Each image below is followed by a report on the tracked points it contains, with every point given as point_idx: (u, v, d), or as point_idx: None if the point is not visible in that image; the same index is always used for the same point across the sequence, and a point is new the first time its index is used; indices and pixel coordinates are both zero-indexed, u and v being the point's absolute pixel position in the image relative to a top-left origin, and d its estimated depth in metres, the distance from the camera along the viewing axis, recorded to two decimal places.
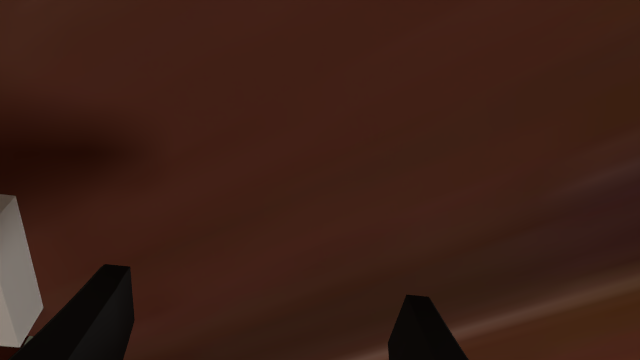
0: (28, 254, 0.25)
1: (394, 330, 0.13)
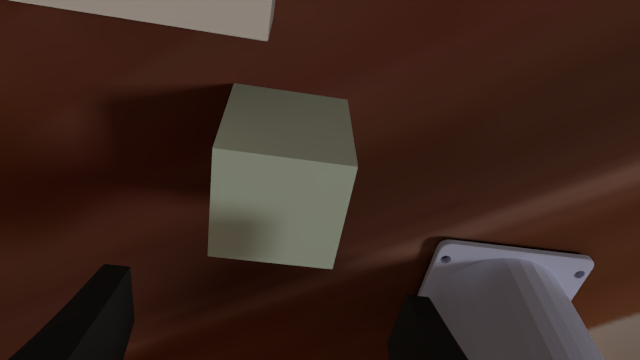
0: None
1: (394, 330, 0.13)
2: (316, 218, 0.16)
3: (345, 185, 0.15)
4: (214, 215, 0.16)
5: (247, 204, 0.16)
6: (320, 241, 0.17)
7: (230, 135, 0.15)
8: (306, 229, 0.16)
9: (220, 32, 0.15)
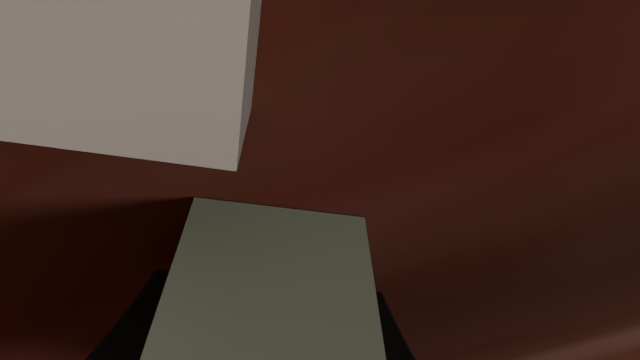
0: None
1: None
2: None
3: None
4: None
5: None
6: None
7: (174, 329, 0.09)
8: None
9: (157, 156, 0.09)
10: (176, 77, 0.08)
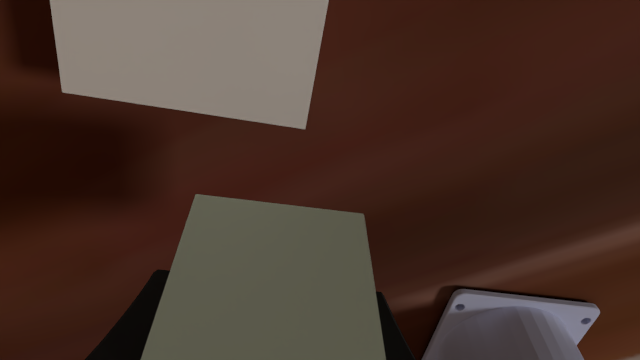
0: None
1: None
2: None
3: None
4: None
5: None
6: None
7: (177, 322, 0.09)
8: None
9: (262, 120, 0.16)
10: (280, 78, 0.15)
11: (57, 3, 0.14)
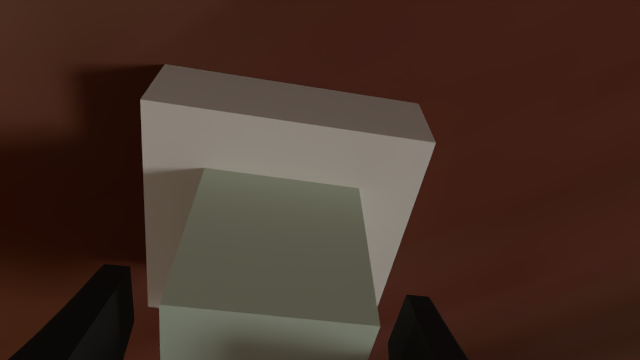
0: None
1: (394, 330, 0.13)
2: None
3: (360, 347, 0.10)
4: None
5: None
6: None
7: (190, 274, 0.10)
8: None
9: None
10: None
11: (152, 247, 0.15)
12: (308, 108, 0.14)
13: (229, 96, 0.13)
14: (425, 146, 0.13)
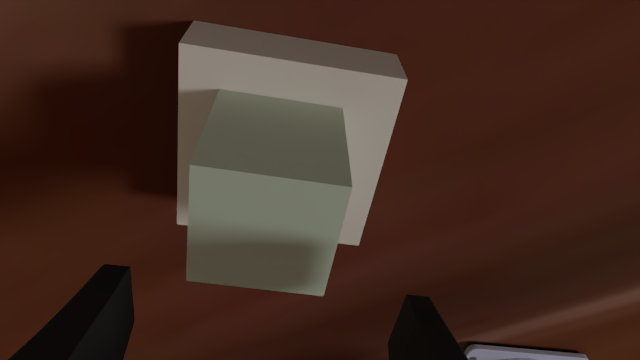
0: None
1: (394, 330, 0.13)
2: (306, 242, 0.14)
3: (338, 207, 0.14)
4: (193, 237, 0.14)
5: (229, 226, 0.14)
6: (310, 266, 0.15)
7: (211, 149, 0.14)
8: (295, 254, 0.15)
9: None
10: None
11: (183, 169, 0.19)
12: (308, 54, 0.17)
13: (245, 44, 0.17)
14: (399, 82, 0.17)
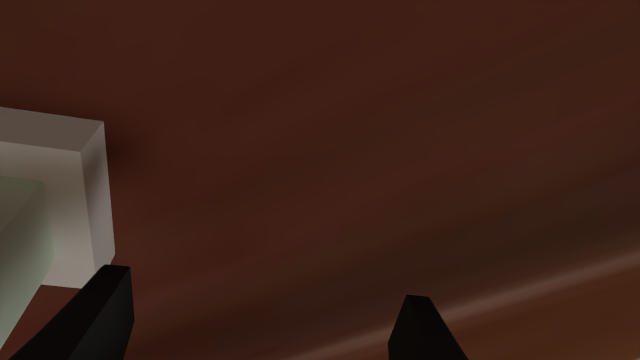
0: None
1: (394, 330, 0.13)
2: None
3: None
4: None
5: None
6: None
7: None
8: None
9: (67, 284, 0.23)
10: (70, 262, 0.22)
11: None
12: None
13: None
14: (74, 154, 0.19)
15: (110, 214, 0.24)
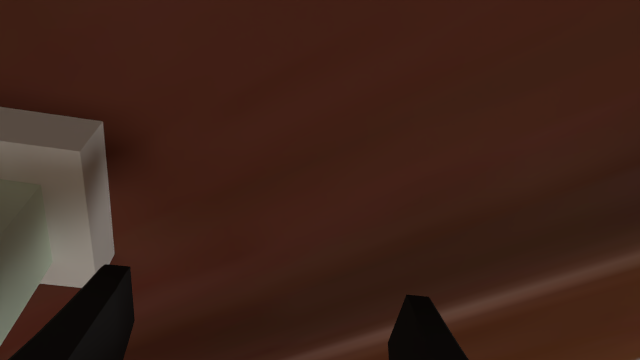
0: (108, 189, 0.23)
1: (394, 330, 0.13)
2: None
3: None
4: None
5: None
6: None
7: None
8: None
9: (67, 283, 0.23)
10: (70, 262, 0.22)
11: None
12: None
13: None
14: (74, 153, 0.19)
15: (110, 213, 0.24)
